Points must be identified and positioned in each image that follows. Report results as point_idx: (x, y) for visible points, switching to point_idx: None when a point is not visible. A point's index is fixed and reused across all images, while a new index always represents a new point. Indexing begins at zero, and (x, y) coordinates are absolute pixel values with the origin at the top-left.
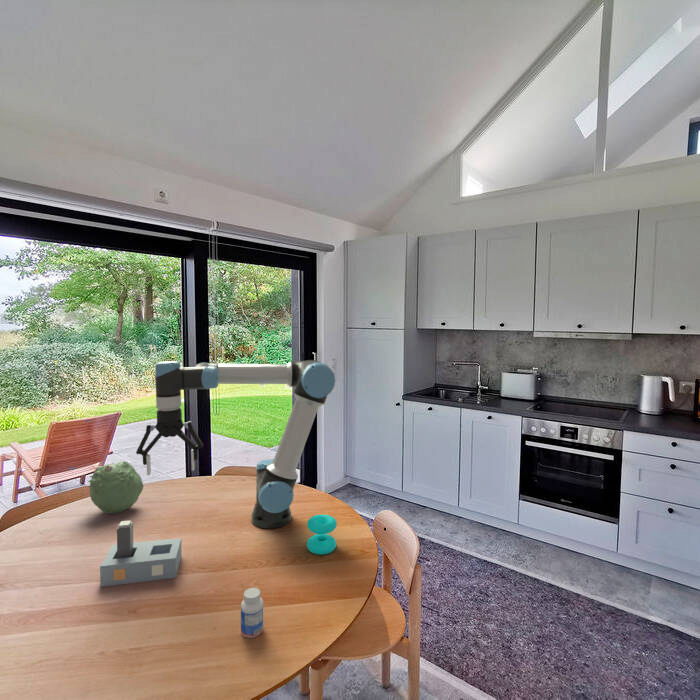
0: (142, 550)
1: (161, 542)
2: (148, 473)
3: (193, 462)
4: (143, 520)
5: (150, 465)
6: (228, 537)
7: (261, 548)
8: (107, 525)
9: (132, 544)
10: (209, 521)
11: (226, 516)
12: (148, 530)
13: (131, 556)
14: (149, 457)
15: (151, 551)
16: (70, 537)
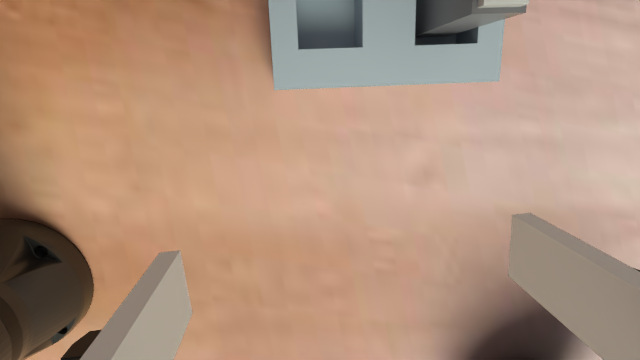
0: (393, 17)
1: (339, 68)
2: (529, 219)
3: (132, 294)
4: (431, 322)
5: (550, 303)
6: (150, 182)
7: (21, 92)
8: (524, 305)
9: (435, 17)
10: (232, 293)
11: None
12: (406, 261)
13: (423, 6)
14: (637, 330)
15: (361, 13)
16: (607, 250)
